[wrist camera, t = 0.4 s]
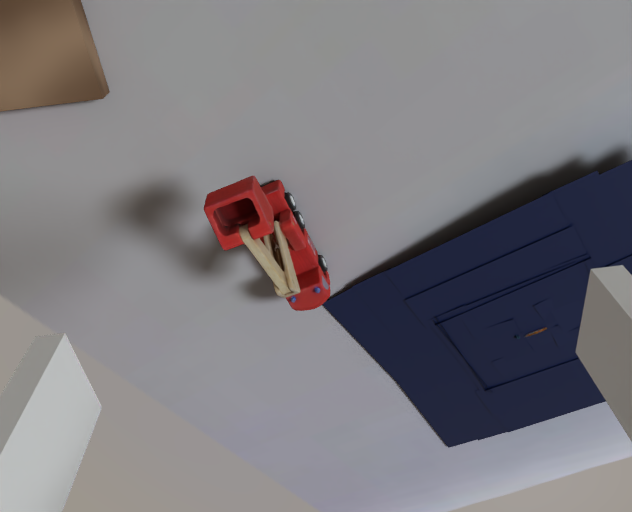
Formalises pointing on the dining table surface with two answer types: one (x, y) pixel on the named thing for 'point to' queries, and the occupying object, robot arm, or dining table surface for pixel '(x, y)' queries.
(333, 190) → the dining table surface
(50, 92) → the board
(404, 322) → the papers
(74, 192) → the dining table surface
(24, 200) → the dining table surface
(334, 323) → the dining table surface
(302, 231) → the toy fire truck
